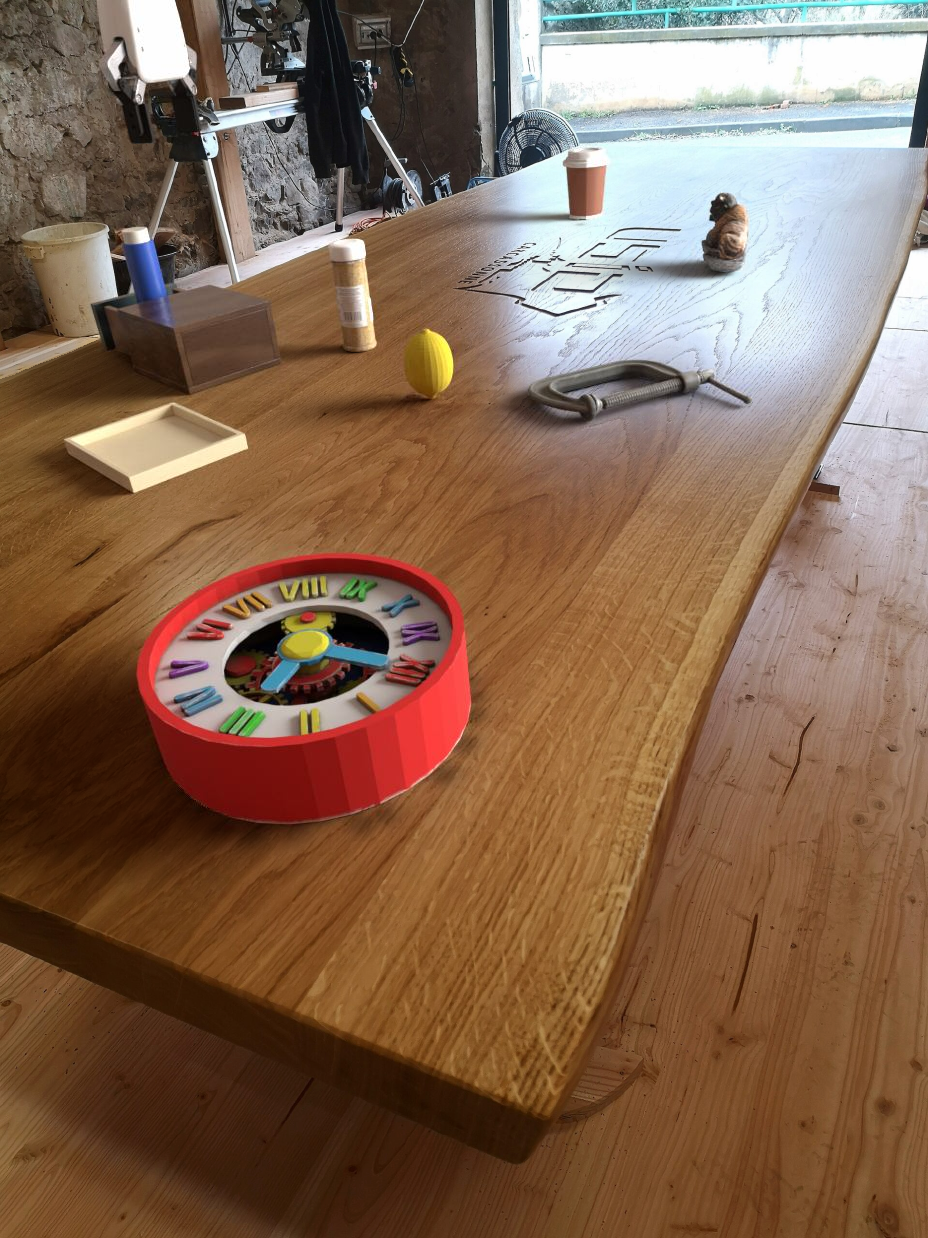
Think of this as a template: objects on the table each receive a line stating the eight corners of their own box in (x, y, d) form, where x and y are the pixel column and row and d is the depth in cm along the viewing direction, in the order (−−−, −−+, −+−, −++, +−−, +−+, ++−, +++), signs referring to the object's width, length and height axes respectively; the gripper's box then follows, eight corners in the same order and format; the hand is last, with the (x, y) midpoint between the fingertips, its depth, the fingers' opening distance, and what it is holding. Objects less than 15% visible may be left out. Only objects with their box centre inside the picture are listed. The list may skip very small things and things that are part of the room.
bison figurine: (751, 275, 136) (759, 203, 131) (704, 278, 137) (710, 206, 131) (738, 256, 146) (745, 189, 140) (694, 259, 147) (699, 192, 141)
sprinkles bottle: (382, 343, 121) (370, 237, 114) (366, 354, 118) (352, 246, 110) (353, 341, 123) (339, 236, 115) (336, 351, 120) (320, 245, 112)
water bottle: (142, 338, 124) (112, 230, 116) (168, 331, 126) (140, 224, 118) (156, 343, 121) (126, 233, 114) (182, 336, 124) (155, 227, 116)
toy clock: (253, 537, 66) (509, 575, 59) (268, 603, 69) (513, 646, 63) (62, 705, 51) (376, 782, 44) (93, 779, 54) (390, 861, 48)
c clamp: (665, 359, 108) (666, 337, 107) (752, 405, 95) (755, 380, 93) (512, 391, 103) (511, 368, 102) (581, 445, 90) (582, 419, 88)
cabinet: (134, 371, 119) (116, 308, 114) (222, 343, 126) (209, 284, 122) (189, 394, 110) (173, 328, 105) (281, 363, 117) (269, 300, 113)
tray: (68, 453, 97) (63, 439, 96) (176, 415, 104) (173, 401, 103) (133, 493, 88) (128, 477, 87) (248, 448, 95) (245, 433, 94)
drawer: (90, 344, 127) (76, 298, 124) (168, 322, 134) (157, 278, 130) (150, 368, 116) (136, 319, 113) (232, 343, 123) (221, 296, 119)
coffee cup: (585, 209, 186) (585, 145, 179) (618, 214, 180) (620, 147, 173) (553, 217, 182) (552, 151, 175) (586, 222, 176) (586, 154, 169)
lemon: (464, 393, 104) (459, 323, 99) (439, 410, 100) (433, 338, 95) (424, 387, 106) (417, 319, 102) (398, 403, 102) (390, 333, 98)
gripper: (148, -33, 107) (182, 128, 117) (49, -35, 94) (96, 147, 104) (202, -38, 105) (231, 127, 115) (108, -41, 92) (150, 146, 101)
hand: (167, 137), depth 109 cm, fingers open, 9 cm apart
